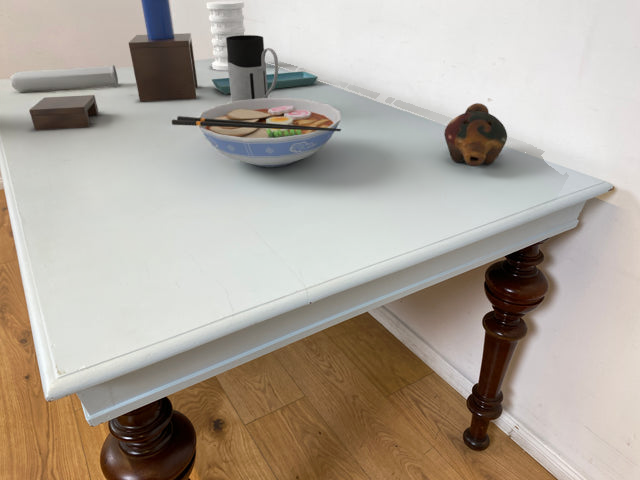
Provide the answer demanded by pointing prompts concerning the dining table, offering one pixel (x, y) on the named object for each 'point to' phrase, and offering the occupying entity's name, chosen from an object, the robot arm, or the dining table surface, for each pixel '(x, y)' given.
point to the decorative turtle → (475, 136)
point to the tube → (64, 79)
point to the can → (158, 19)
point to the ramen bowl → (267, 129)
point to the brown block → (164, 67)
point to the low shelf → (63, 112)
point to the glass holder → (248, 67)
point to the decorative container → (224, 28)
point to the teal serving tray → (282, 81)
